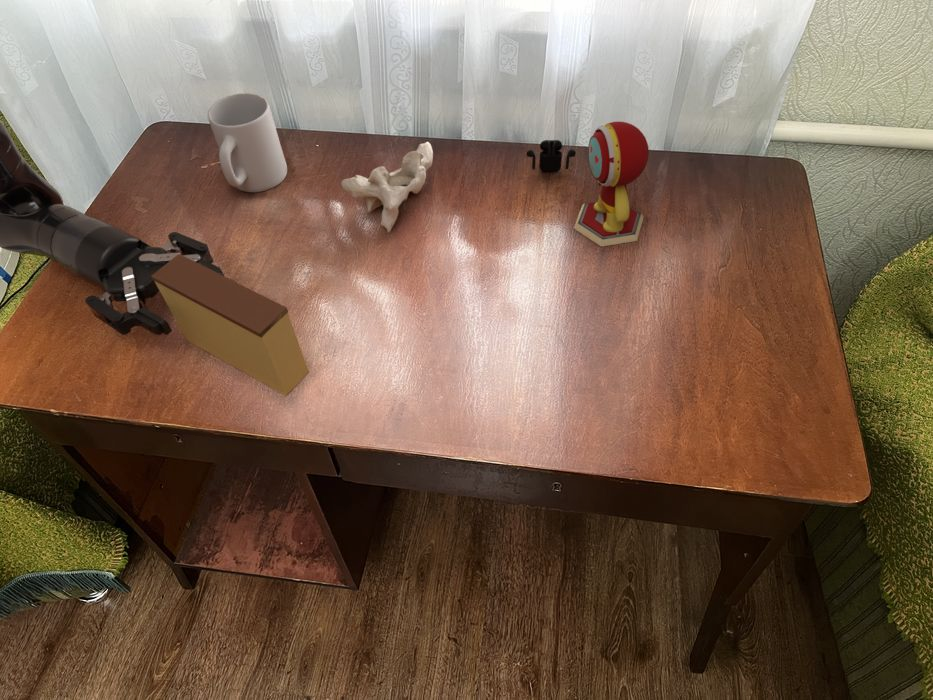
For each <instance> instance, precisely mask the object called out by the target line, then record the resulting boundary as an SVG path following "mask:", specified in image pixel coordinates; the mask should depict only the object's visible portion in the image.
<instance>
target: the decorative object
mask: <svg viewBox="0 0 933 700" xmlns="http://www.w3.org/2000/svg"><path fill="white" fill-rule="evenodd" d="M433 157H434V152H433V147H432V145H431V143H430V142H429V141H425V142H424V143H419V145H418V147H417V148H416V150H411V151H409V152H407V153H406V154H405V155H404V156H403V157H402V162H401V165H400V167H401V168H399V169H396V170H394V171H392V172H391V171H390V172H389V171H388V170H387V169H386V167H385V166H383V165H382V166H378V167H376V168H373V169H372V170H371V172H370V174H369V177H368V178H367V177H364V176H362V175H360V174H355V175H354V176H353V177H350V178H344V179H343V180H341V182H340V183H341V185H340V186H341V187H342V188H343V190H345V191H346V192H347V193H348V194H349V195H350V196H351V197H353V198H354V199H357V198H358V199H362V198H364V199H365V202H366V209H367V211H368V213H369V214H371V213H372V212H373V211H374V210H375V209H377V208H379V207H381V206H382V207H383V208H382V211H381V222H380V226H381V227H383V228H385V229H386V232H387V233H388V234H390V233H391V231H392V229H393V227H394V225H395V223H396V221H397V219H398V216H399V211H402V210H403V209H404V207H405V205H406V202H407V199H408V196H409V194H410V192H411V193H413V194H418V193H420V191H421V190H422V188H423V186H424V185H425V183H426V179H427V172H426V171H428V170H429V169H430V168H431V167H432V165H433V160H434V159H433Z"/></svg>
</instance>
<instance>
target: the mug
mask: <svg viewBox="0 0 933 700" xmlns="http://www.w3.org/2000/svg"><path fill="white" fill-rule="evenodd" d="M207 119H208V122H209V125H210V129H211V131H212V133H213V136H214V138H215V139H214V140H215V141H216V144H217V147H218V150H219V152H218V153H219V154H218V159H219V163H220V167H221V171H222V174H223V176H224V178H225V180H226V181H227V183H228V184H229V185H230V186H231V187H233V188H236V189H238V190H239V191H242V192H246V193H261V192H265V191H269V190H271V189H274V188H275V187H277V186H278V185H280V184H281V183H283V181H284V180H285V179H286V177H287V174H288V165H287V161H286V158H285V155H284V152H283V148H282V145H281V142H280V139H279V134H278V131H277V126H276V124H275V120H274V117H273V113H272V110H271V107H270V104H269V101H268V100H267V99H266V98H265V97H264V96H262V95H259V94H257V93H252V92H251V93H250V92H241V93H233V94H231V95H226V96H224V97H222V98H220V99H218V100H217V101H215V102H214V103H213V104H212V105H211V106H210V107H209V108H208V111H207Z"/></svg>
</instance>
